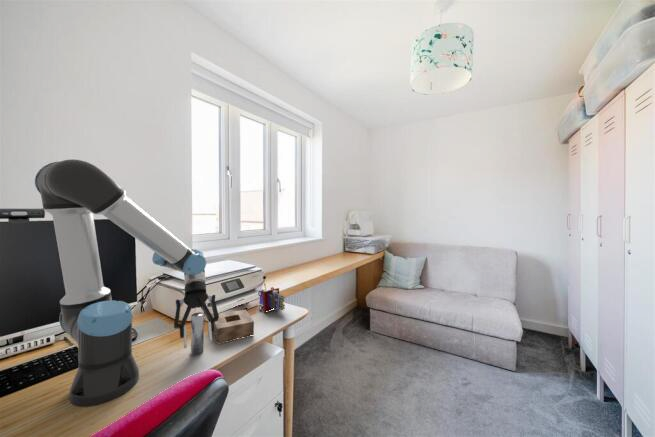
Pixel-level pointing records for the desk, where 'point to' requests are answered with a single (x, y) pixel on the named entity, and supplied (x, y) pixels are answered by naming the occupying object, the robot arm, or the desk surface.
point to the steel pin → (197, 333)
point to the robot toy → (270, 299)
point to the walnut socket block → (233, 326)
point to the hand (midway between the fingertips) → (198, 343)
